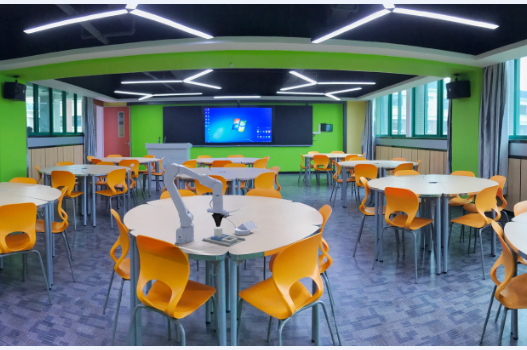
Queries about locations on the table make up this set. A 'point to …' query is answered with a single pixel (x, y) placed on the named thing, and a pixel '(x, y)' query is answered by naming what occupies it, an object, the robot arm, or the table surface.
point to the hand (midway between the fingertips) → (218, 226)
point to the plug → (218, 232)
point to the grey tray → (225, 240)
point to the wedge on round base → (245, 228)
